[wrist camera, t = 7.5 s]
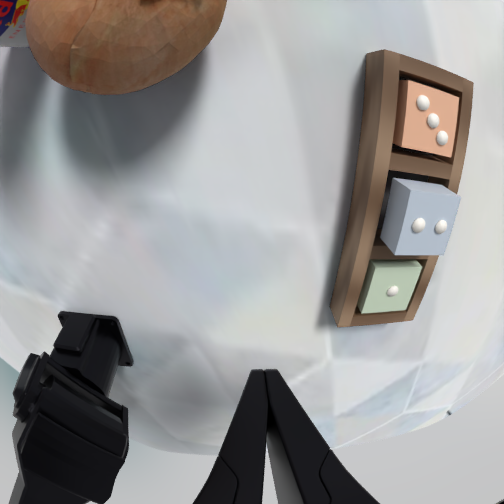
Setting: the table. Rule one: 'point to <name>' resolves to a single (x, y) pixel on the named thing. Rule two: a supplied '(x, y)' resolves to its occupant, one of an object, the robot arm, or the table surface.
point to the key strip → (375, 176)
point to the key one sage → (388, 285)
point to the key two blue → (419, 217)
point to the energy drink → (13, 23)
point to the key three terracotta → (425, 118)
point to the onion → (118, 40)
